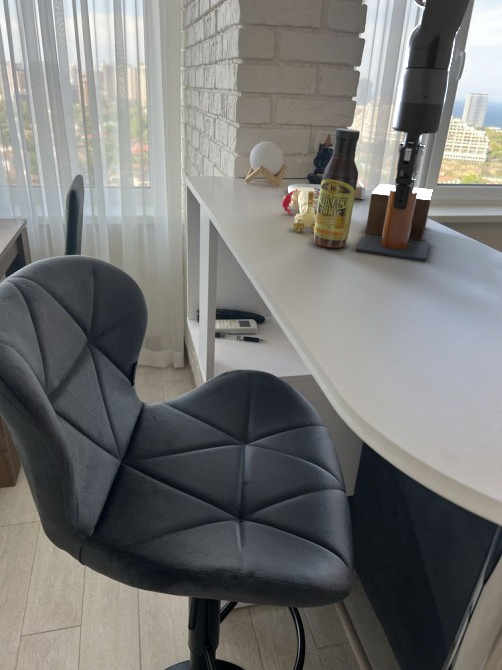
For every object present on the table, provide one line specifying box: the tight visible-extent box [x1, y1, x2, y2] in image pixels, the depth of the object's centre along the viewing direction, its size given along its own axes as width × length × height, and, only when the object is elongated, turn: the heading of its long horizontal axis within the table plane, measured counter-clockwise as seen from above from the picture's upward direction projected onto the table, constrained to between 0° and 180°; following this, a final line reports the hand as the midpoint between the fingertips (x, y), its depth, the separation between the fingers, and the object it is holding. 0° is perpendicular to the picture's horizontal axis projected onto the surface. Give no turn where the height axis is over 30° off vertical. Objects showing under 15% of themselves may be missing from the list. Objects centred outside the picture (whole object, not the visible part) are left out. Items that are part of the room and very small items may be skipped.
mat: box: [355, 233, 430, 262], centre depth 93 cm, size 12×11×1 cm
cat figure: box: [281, 187, 320, 233], centre depth 109 cm, size 10×9×25 cm
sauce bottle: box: [313, 128, 361, 249], centre depth 89 cm, size 6×6×20 cm
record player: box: [287, 181, 366, 200], centre depth 137 cm, size 12×3×20 cm
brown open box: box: [365, 183, 434, 242], centre depth 104 cm, size 11×12×8 cm
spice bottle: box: [381, 178, 418, 249], centre depth 90 cm, size 5×5×12 cm
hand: (401, 205), depth 90 cm, fingers closed on spice bottle, 5 cm apart
